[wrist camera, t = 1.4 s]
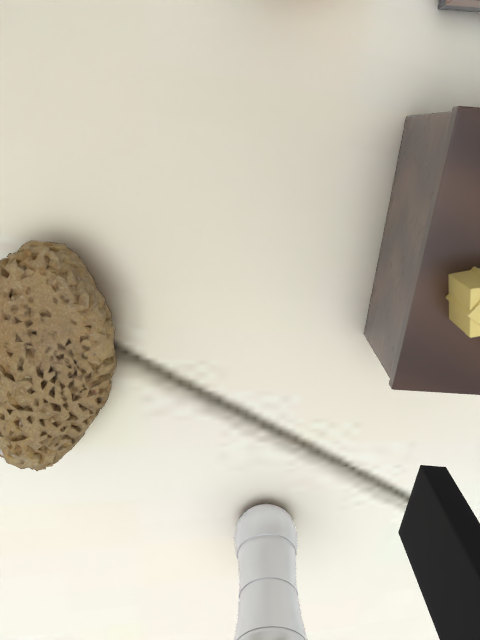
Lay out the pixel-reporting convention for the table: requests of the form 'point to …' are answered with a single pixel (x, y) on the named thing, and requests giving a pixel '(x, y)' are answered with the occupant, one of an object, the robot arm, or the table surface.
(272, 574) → the plastic bottle
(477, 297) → the paper ball yellow
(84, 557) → the table surface
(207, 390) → the table surface
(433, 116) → the cabinet
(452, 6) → the brush
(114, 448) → the table surface
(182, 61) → the table surface
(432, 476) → the robot arm
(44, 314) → the sponge
